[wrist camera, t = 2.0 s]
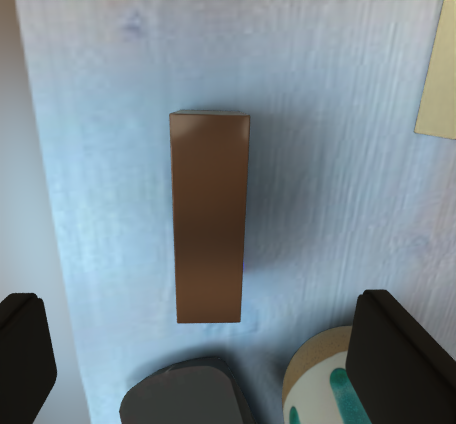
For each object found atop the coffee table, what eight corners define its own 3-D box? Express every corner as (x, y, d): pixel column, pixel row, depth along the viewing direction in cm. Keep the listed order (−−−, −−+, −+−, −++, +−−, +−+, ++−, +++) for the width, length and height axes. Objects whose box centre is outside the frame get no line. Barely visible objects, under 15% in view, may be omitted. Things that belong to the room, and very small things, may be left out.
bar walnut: (180, 109, 18) (169, 113, 13) (240, 111, 18) (250, 115, 13) (184, 274, 22) (176, 323, 17) (233, 274, 22) (240, 322, 17)
